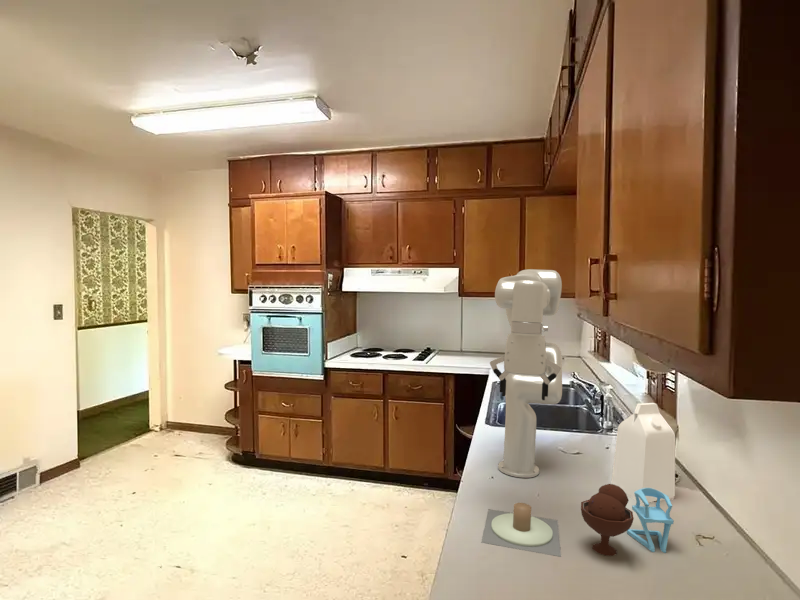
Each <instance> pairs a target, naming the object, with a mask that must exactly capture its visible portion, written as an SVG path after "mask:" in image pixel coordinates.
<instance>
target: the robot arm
mask: <svg viewBox="0 0 800 600" xmlns="http://www.w3.org/2000/svg"><path fill="white" fill-rule="evenodd" d="M562 282H563V281H562V277H561V276H560V273H559V272H557V270H553V269H535V268H534V269H533V268H530V269H523V270H520V271H518V272H517V273H516V274H515V275H509V276H505V277H501V278H500V279H499V280H498V282H497V284H496V286H495V290H494V299H495V303H496V305H497V306H498V308H500V309H505V313H506V317H507V321H508V323H509V325H510V326H509V327H510V333H507V338H506V341H505V349H504V354H503V355H502V356H500V357H497V358H496V359H492V360H490V362H489V365H490V367H491V369H492V371H493V373H494V374H495V376H496V377H497V378H498V379H499V393H501V397H505V420H504V421H505V422H504V423H505V424H504V443H503V444H504V445H503V460H502V461H500V462H499V463H498V470H499V471H500V472H502V473H503V474H505V475H507V476H511V477H514V478H522V479H526V478H528V479H529V478H534V477H538V475H539V474H540V468H539V467H538V466H537V465H536V464H535V462H536V461H535V459H536V457H535V455H536V442H537V441H536V439H537V437H536V436H537V415H536V412H535V410H534V409H533V408H532V407H531V405H530V404H544V405H556V404H558V403H560V402H561V400H562V396H563V368H562V367H563V363H562V362H563V361H562V351H561V348H560V346H559V345H557V344H555V343H552V342H546V338H545V337H546V336H545V335H542V334H543V333H544V332H549V326H547V325H544V324H543V318H544V317H543V316H545V317H546V316H547V317H549V316H550V317H551V316H554V315H556V314H557V313H558V311H559V309H560V302H561V296H562V288H563V285H562V284H563V283H562ZM500 363H503V369H504V370H503V371H502V372H501V370H500V369H498V366H497V365H498V364H500Z"/></svg>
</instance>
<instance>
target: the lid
mask: <svg viewBox="0 0 800 600" xmlns="http://www.w3.org/2000/svg"><path fill="white" fill-rule="evenodd" d="M532 516H533V515H532V506H531V505H530V504H528V503H524V502H515V503H514V504H513V512H511V513H508V514H502V515H499V516H497V517H495V518H494V519H493V520H492V526H491V528H492V531H493V532H494V534H495V535H496V536H498V537H499V538H501V539H502V540H504V541H506V542H509V543H511V544H515V545H519V546H526V547H537V546H542V545H545V544H547V543H549V542H550V541H551V540H552V535H553V532H552V529H551V528H550V526H549V525H548V524H546V523H545V522H544V521H542V520H540V519H538V518H535V517H532Z"/></svg>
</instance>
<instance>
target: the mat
mask: <svg viewBox="0 0 800 600" xmlns="http://www.w3.org/2000/svg"><path fill="white" fill-rule="evenodd" d="M508 513H512V512H510V511H504V510H499V509H498V510H497V509H492V508H488V511H487V515H486V520H485V522H484V523H485V524H484V528H483V534H482V537H481V538H482V539H481V542H480V543H481V544H487V545H493V546H497V547H503V548H510V549H514V550H518V551H519V550H520V551H524V552H525V551H526V552H532V553H536V554H544V555H549V556H553V557H559V558H561V557H562V552H561V542H560V541H561V540H560V532H559V531H560V530H559V521H558V519H554V518H553V519H552V518H546V517H540V516H534V515H531V516H532V517H535V518H538V519H540V520H542V521H544V522H545V523H546V524H548V525H549V526H550V528H551V529H552V532H553V535H552V540H551V541H550V542H549V543H547V544H545V545H542V546H537V547H526V546H519V545H515V544H511V543H509V542H506V541H504V540H502V539H501V538H499V537H498V536H496V535H495V534H494V532H493V531H492V528H491V526H492V520H493V519H494V518H495V517H497V516H499V515H502V514H508Z"/></svg>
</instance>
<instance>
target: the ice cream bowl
mask: <svg viewBox="0 0 800 600" xmlns="http://www.w3.org/2000/svg"><path fill="white" fill-rule="evenodd" d="M628 503H629V497H628V496H627V495H626V493H625V492H624V490H623V489H621V488H620V487H619V486H617V485H614V484H611V483H608V484H604V485H602V486H600V487H599V488H598V492H596V493H595V494H593V495H592V496H591V497H590V498H589V499H586V500H583V501H581V503H580V510H581V516H582V519H583V521H584V522H585V523H586V524H587V525H588V527H590V529H592V530H594V532H596V533H597V534H599V535H600V542H596V543H594V544H592V547H591V548H592V550H593V551H594V552H596V554H597V553H598V554H599V555H602V556H608V557H613V556H616V555H617V554H618V551H617V549H616V548H614V547H613V546H612V545H610V538H611V537H616V536H619V535H622V534H624V533H625V532H626V533H627V530H629V529H631V527H632V525H633V522H634V518H635V517H634V514H633V512H634V511H632V510H630V509H629V508H627V504H628Z"/></svg>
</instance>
